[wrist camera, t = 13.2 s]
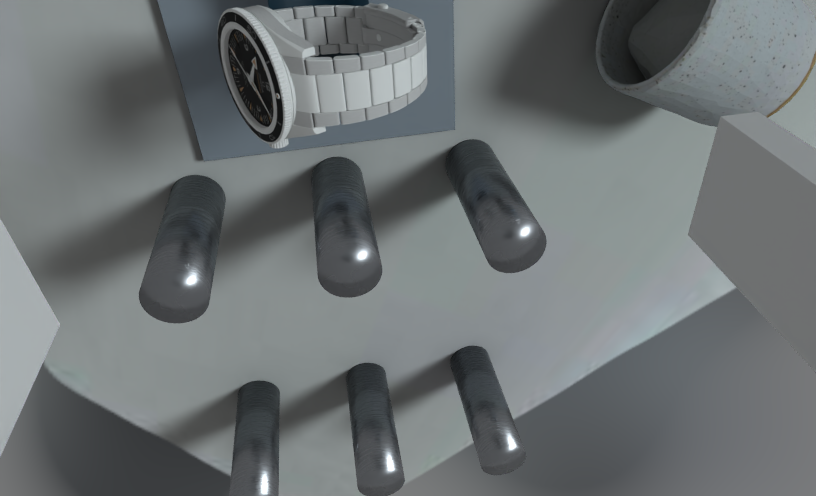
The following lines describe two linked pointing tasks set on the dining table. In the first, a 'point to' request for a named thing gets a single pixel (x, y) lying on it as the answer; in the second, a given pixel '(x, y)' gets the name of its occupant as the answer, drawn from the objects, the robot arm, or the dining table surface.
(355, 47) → the watch
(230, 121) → the mat
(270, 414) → the post field
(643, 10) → the ceramic mug
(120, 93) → the dining table surface
